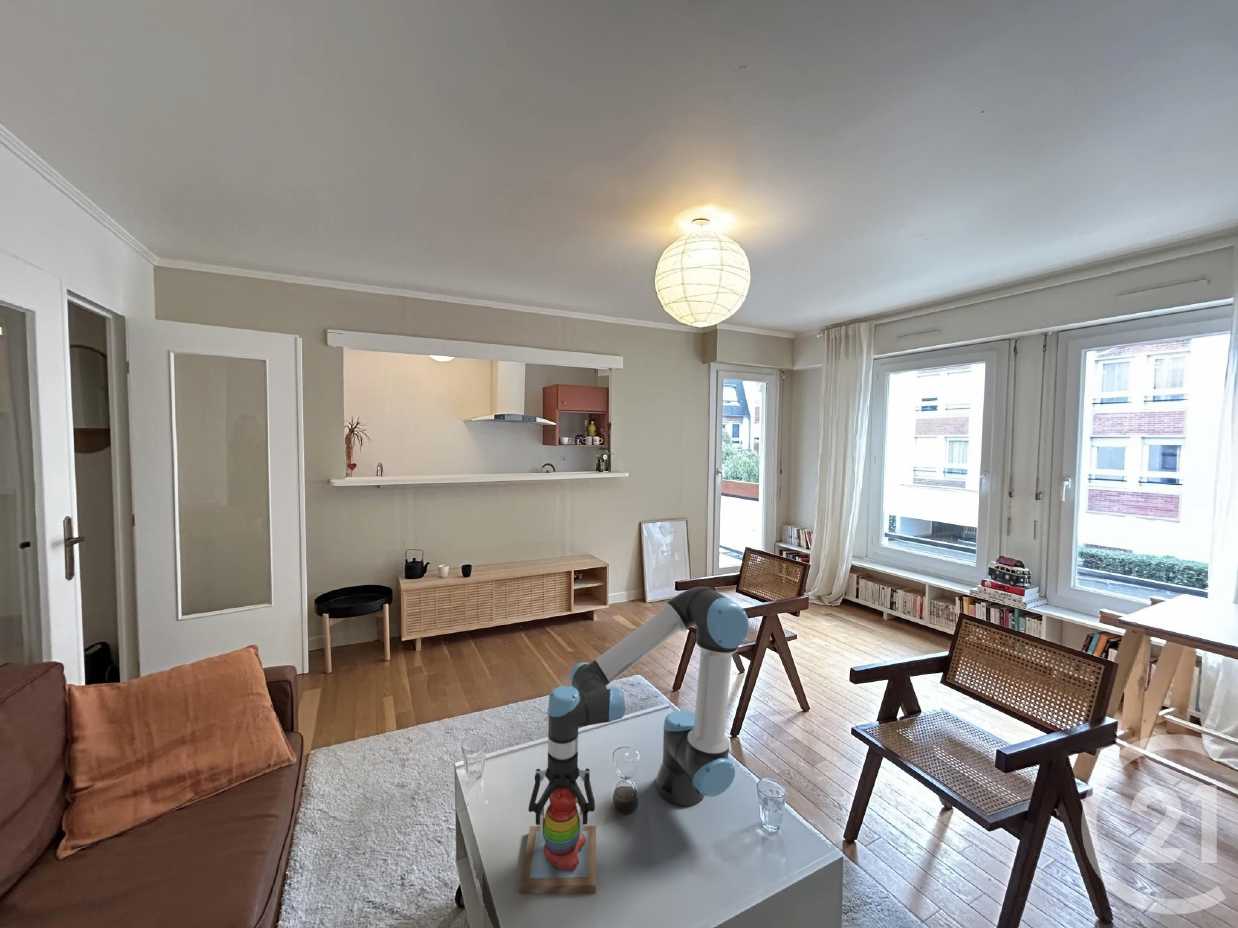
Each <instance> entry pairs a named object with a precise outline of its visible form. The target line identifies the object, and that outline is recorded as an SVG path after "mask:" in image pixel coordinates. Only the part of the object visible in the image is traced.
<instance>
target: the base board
mask: <svg viewBox="0 0 1238 928" xmlns="http://www.w3.org/2000/svg"><path fill="white" fill-rule="evenodd" d="M583 834H584V836H585V838H586V841H585V845H584V846H583V847H582V848H581V849H580V850H579V851H578V859H579V864H578V865H577V867H576V868H574V869H573V870H565V869H561V868H558V867H556V866H554V865H553V864H551V863H550V862H549V861H548V860H547V859H546V858H545V855H544V845H545V839H544V835H543V840H540V825H531V826H529V830H528V837H527V842H526V846H525V847H526V848H525V854H524V859H523V866H522V870H521V871H522V872H521V876H520V882H519V883H520V884H519V894H520V895H524V894H525V895H527V894H528V895H533V894H539V895H541V894H543V895H544V894H596V893H597V825H583Z"/></svg>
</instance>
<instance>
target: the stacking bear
mask: <svg viewBox="0 0 1238 928" xmlns="http://www.w3.org/2000/svg"><path fill="white" fill-rule="evenodd" d="M548 800H549V804H548V807H547V808H546V810H545V812H544V822H543V835H544V839H545V845H544V855H545V858H546V859H547V860H548V861H549V862H550V863H551V864H553V865H554V866H556V867H558V868H561V869H565V870H573V869H574V868H576V867H577V865H578V864H579V859H578V851H579V850H580V849H581V848H582V847H583V846H584V845H585V841H586V838H585V836H584V834H583V837H582V839H579V836H580V813H579V810H578V806H577V804H578V803H577V801H578V799H577V798H576V797H575V796H574V795H573V793H571V791H570V789H569V788H557V789H556V788H555V789H554V791H553V792H552V793H551V795H550V797H549V798H548Z"/></svg>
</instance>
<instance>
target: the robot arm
mask: <svg viewBox="0 0 1238 928" xmlns="http://www.w3.org/2000/svg"><path fill="white" fill-rule="evenodd" d="M692 627H695V628H696V634H695V635H696V638H695V643H696V644H695V645H697V646H698V647H699V649H700V652H699V653H700V656H699V666H698V667H699V669H698V675H697V676H698V677H697V678H698V679H697V687H696V688H697V689H696V700H695V710H694V711H695V712H693V711H689V710H676V711H672V712H670V713H668V714H667V716H665V717H664V723H663V727H662V728H663V739H662V740H663V743H662V762H661V764H660V766H659V770H658V772H657V776H656V779H655V780H656V781H655V783H656V785H655V787H656V790H657V793H658V794H659V796H660V797H661V798H662V799H663V800H665V801H666V802H668V803H670V804H672V805H674V806H675V805H676V806H682V807H683V806H685V807H687V806H688V807H689V806H693V805H696V804H698V803H700V802H701V801H702V800H703V799H704V798H705V797H707V798H712V797H713V798H714V797H718V796H720V795H721V794H723V793H725V792H726V790H728V789H729V788H730V786H731V785H732V784H733V781H734V779H735V777H736V768H735V766H734V763H733V761H732V760H730V759H729V753H730V741H729V738H728V737H727V736H726V726H727V725H726V722H727V711H728V702H729V701H728V700H729V693H730V692H729V691H730V680H731V670H732V669H731V668H732V660H733V658H732V657H733V655H734V653H736V652H738V650H739V646H740V645H742V644H743V642H744V640H745V639H747V636H748V633H749V627H750V623H749V618H748V615H747V612H746V610H744V609H743V607H742V606H741V605H740V604H738V603H737V602H736V601H735V600H734V599H730V598H728V597H726V596H725V595H723V594H721V593H719V592H718V591H716V590H715V589H713V588H711V587H708V586H695V587H691V588H689V589H687V590H684V591H682V592H681V593H678V594H677V595H675V596H674V597H672V598H671V599H670V600H669V601H666V602H665V603H664V608H663V609H662V610H661V611H660V612H658V613H657V614H655V615H654V616H652V617H651V618H650V619H648V620H647V621H646V622H644V623H643V624H641V626H639V627H637V628H636V629H635V630H634V631H632V632H630V634H628V635H627V636H625V637H623V638H622V639H620V641H619V642H617V643H616V644H615V645H613V646H612V647H610V648H609V649H608V650H607V651H604V653H602V654H601V655H598V657H596V658H595V659H594V660H593V661H591V662H590V663H589V662H585V661H584V662H579V663H577V664H576V665H574V666H573V668H572V669H571V671H570V673H569V674H570V675H569V680H570V683H571V686H570V685H569V686H566V685H562V686H561V685H560V686H557V687H556V688H554V689H553V690H551V691H550V693H549V697H548V708H547V711H548V712H547V713H548V715H547V716H548V720H547V721H548V725H547V726H548V733H547V734H548V735H547V767H546V769H545V770H541V769H540V768H537V769H535V774H534V785H533V789H532V793H531V797H530V799H529V803H528V804H529V805H528V812H529V813H533V812H534V813H535V826H540V840H543V822H544V818H545V806H546V803H547V802H548V800H549V797H550V795H551V793H552V792H553V791H554V789H555V788H556V789H557V788H569V789H570V791H571V793H573V795H574V796H575V797H576V798H577V799H578V801H577V804H578V806H579V818H580V836H579V839H582V837H583V826H588V817H589V816H588V815H589V812H595V810H596V801H595V797H594V792H593V788H592V785H591V780H590V777H591V776H590V775H591V774H590V773H591V772H590V768H585V770H582V769H581V770H580V768H579V767H578V766H579V764H578V762H579V757H578V756H579V752H578V750H579V728H582V727H587V726H593V725H594V726H595V725H599V724H605V723H611V722H614V721H618V720H621V719H622V718H624V716H625V713H626V701H625V696H624V694H623V691H622V690H621V689H620V688H618V687H614V688H612V687H610V688H608V687H607V686H608V685H609V684H611V683H612V682H613V681H615V680H616V679H617V678H619V677H620V676H622V675H623V674H624V673H625V672H626V671H628V670H629V669H630V668H632V667H633V666H635V665H636V664H637V663H639V662H640V661H641V660H642V659H644V658H645V657H646V656H648V655H649V654H651V653H652V652H653V651H655V650H656V649H657V648H658V647H660V646H662V645H663V644H664V643H665V642H667V640H670V638H672V637H673V636H675V635H676V634H677V633H678V632H686V631H687V630H688V629H690V628H692ZM545 777H546V778H547V779H546V780H548V783H547V786H546V787H545V790H544V791H543V792H542V794H541V797H540V798H539V799H538V801H537V798H538V793H539V790H540V786H541V782H543V781H544V778H545ZM579 778H580V779H581V781H582V782H583V786H584V790H585V795H586V798H587V800H586V798H585V796H584V794H583V793H582V790H581V789H580V787H579V785H578V782H577V780H578V779H579ZM536 801H537V802H536Z"/></svg>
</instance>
